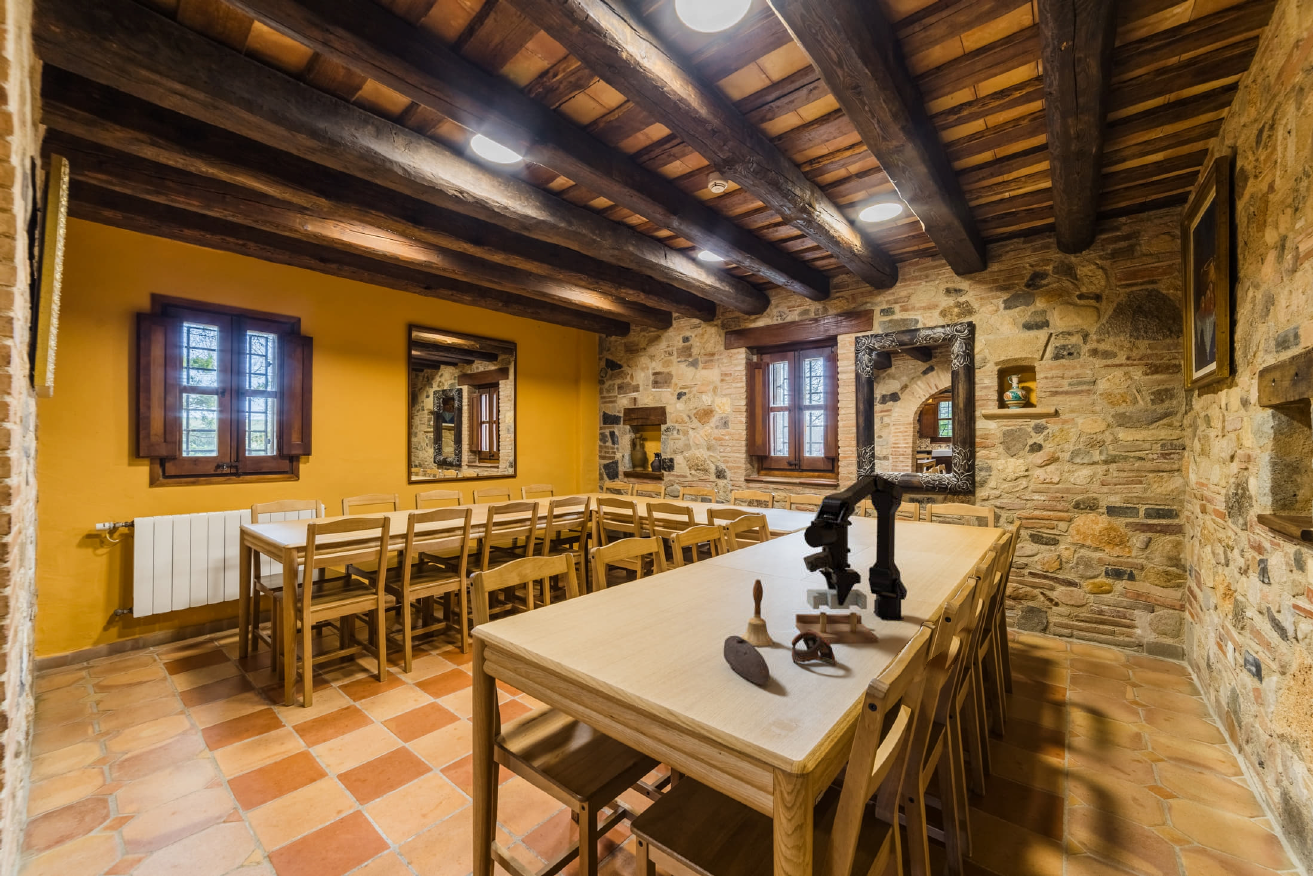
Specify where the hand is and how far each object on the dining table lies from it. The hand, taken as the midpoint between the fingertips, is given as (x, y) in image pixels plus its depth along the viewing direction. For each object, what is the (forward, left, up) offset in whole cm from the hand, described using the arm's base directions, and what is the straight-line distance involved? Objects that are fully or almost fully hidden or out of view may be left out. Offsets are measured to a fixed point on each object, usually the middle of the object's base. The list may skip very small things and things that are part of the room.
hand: (836, 601), depth 143 cm
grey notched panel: (0, 0, -1) cm, 1 cm away
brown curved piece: (+11, +17, -9) cm, 22 cm away
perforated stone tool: (+28, +25, -9) cm, 39 cm away
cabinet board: (0, -1, -9) cm, 9 cm away
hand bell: (+22, +4, -9) cm, 24 cm away
